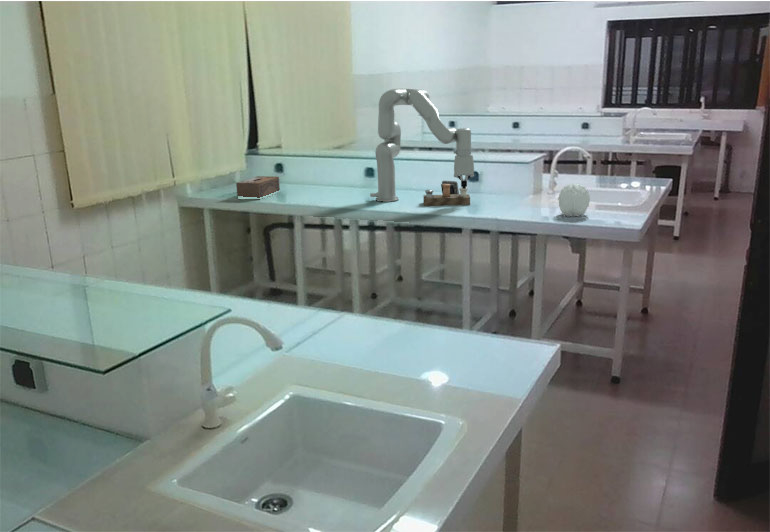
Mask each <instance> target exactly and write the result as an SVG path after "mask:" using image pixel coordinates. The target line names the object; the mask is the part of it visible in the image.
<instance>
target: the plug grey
mask: <svg viewBox="0 0 770 532" xmlns="http://www.w3.org/2000/svg"><path fill="white" fill-rule="evenodd" d="M433 193H434V190H433V189H425V195H426V197H433V195H434V194H433Z"/></svg>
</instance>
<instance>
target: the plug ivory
mask: <svg viewBox="0 0 770 532" xmlns="http://www.w3.org/2000/svg"><path fill="white" fill-rule="evenodd" d="M459 191H460V192H459V194H460V197H465V196H467V194H468V187H466V189H465V188H464V189H463V188H462V187H460V188H459Z"/></svg>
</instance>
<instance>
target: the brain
mask: <svg viewBox="0 0 770 532" xmlns="http://www.w3.org/2000/svg"><path fill="white" fill-rule="evenodd" d="M557 200H558V206H559V210H560V212H561V214H563V215H564V216H565V215H566V217H571V216H573V217H578V216H579V217H581V216H582V215H585V214H586V211H587V209H588V208H589V207H590V202H591V197H590V192H589V190H588V189H587V187H586V186H585V185H583V184H580V183H569V184H566V185H565V186H564V185H563V187H562V189H561V190H560V192H559V195H558V199H557Z"/></svg>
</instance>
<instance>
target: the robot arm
mask: <svg viewBox="0 0 770 532" xmlns="http://www.w3.org/2000/svg"><path fill="white" fill-rule="evenodd" d="M396 106H412V108H413V109H414V110H415V111H416V112H417V113H418V115H420V117H421V118H422V119H423V120H424V122H425V123H426V125H427V128H428V129H429V131H430V132H431V133H432V135H433V136H434V137H435V138H436V139H437V140H438V141H439V143H442V144H443V145H448V144H452V143H456V145H455V146H456V148H455V149H456V150H453V154H454V155H455V156H454V162H453V173H454V174H453V178H457V179H459V180H460V188H463V189H464V188H465V189H466V188H468V187H467V186H468V181H469V180H470V178H473V177H475V164H474V163H475V162H474V156H473V154H472V131H471V130H472V129H471V128H468V127H467V128H466V127H465V128H464V127H463V128H461V127H460V128H455V127H447V126H446V125H445V124H444V123H443V121H442V120H441V118H440V117H439V116H440V115H439V110H438V108H437V107H436V106H435V105H434V103H432V102H431V100H430V95H429V93H428V91H426V90H424V89H416V88H415V89H414V88H413V89H411V88H392V89H389V90H386V91H385V92H384V93H382V94H381V96H380V98H379V100H378V123H377V129H378V130H377V133H378V134H377V135H378V136H379V138H380V139H382V140H383V142H380V143H379V144H378V145H377V146H376V148H375V150H374V151H375V153H374V154H375V160H376V165H377V166H376V169H377V171H376V172H377V192H370V197H372V198H375V201H376V200H377V201H376V202H379V201H383V202H382V203H388V202H389V203H391V201H392V202H396V201H399V197H398V196H396V167H395V162H394V158H396V157H398V155H400V152H401V141H402V140H401V136H402V135H401V134H402V133H401V132H402V130H401V126H400V124H399V123H398V122H397V121H396V120H395V107H396ZM463 176H464V177H463Z"/></svg>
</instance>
